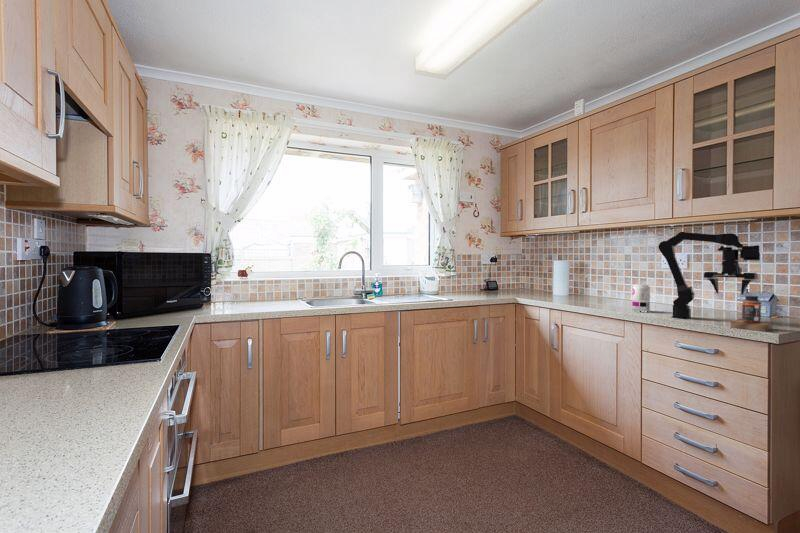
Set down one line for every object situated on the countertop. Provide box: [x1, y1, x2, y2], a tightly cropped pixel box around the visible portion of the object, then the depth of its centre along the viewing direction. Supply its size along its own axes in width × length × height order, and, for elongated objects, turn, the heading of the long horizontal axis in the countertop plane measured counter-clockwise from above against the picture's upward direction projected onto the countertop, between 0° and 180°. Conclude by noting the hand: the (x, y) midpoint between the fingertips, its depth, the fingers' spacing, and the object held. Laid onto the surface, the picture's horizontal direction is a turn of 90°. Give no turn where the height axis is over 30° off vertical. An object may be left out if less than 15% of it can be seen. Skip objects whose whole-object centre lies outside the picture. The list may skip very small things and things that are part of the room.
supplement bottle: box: [741, 294, 762, 323], centre depth 169 cm, size 6×6×11 cm
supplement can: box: [631, 283, 651, 313], centre depth 220 cm, size 8×8×15 cm
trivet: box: [730, 318, 773, 332], centre depth 169 cm, size 11×11×3 cm
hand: (729, 293), depth 185 cm, fingers open, 9 cm apart
